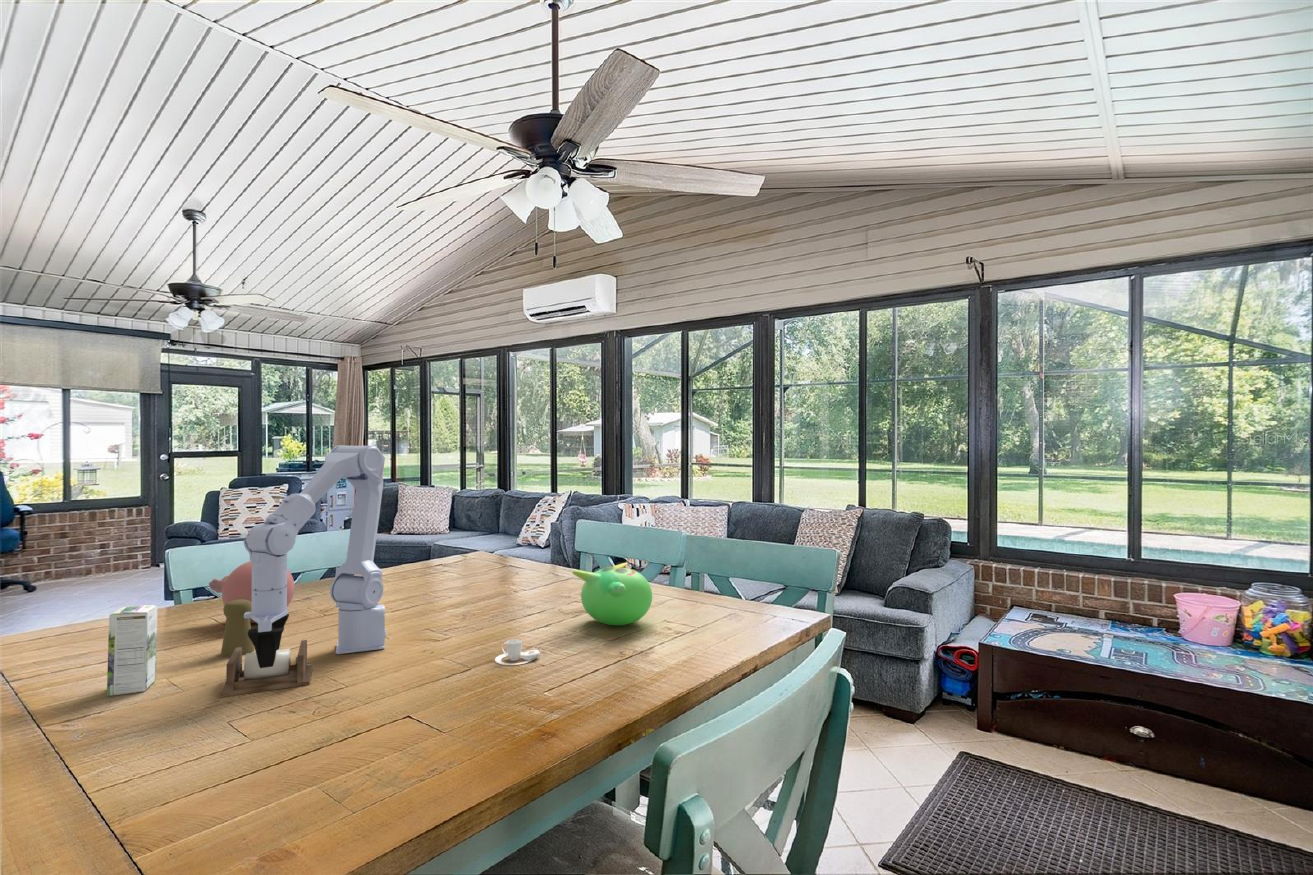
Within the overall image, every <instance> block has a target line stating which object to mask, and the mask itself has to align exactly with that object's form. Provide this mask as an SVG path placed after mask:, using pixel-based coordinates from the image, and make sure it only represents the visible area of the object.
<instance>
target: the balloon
mask: <svg viewBox="0 0 1313 875" xmlns="http://www.w3.org/2000/svg"><path fill="white" fill-rule="evenodd" d="M208 588H210V590H212V591H214V592H215V593H221V600H222V604H223V607H224V606H225V604H226V603H228V602H230V601H233V600H241V599H243V600H249V601H250V602H251V603H252V563H251V561H250V560H249V561H247V562H245V563H242V564H241V565H239V566H237V567H236V568H234V570H232V572H231V573H230V574H228V575H226V576H224V577H223V578H221V579H219V578H213V579H212V580H211V581H209V582H208ZM295 588H296V587H295V581H294V577H293V575H292V573H291V572H290V570H289V569H288V568H287V608H288V607H289V606H290V604H291V602H292V600H293V597H294V594H295ZM251 612H252V611H251ZM250 624H256V623H255V621H254V620H252V619H251V618H250Z"/></svg>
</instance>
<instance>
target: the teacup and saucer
mask: <svg viewBox="0 0 1313 875" xmlns="http://www.w3.org/2000/svg"><path fill="white" fill-rule="evenodd" d="M503 645H506V651H505V650H504V646H503ZM500 648H501V651H502V654H500V655H497V656H496V657H495V659H494V662H495V663H496V664H498V665H501V666H502V665H503V666H520V665H525V664H527V663H530V662H533V660H536V659H537V658H539V657H540V654H541V652H540V651H539V650H537V649H531V650H528V651H525V652H524V651H522V650H523V640H522V639H519V638H512V639H509V640H507V641H506V642H503V643H502V644H501V646H500ZM505 657H507V659H508V660H509V661H510V662H515V661H519V660H520V659H521V658H522V660H523V661H522V662H521V661H520V662H518V663H517V662H516V663H509V662H504V661H502V659H503V658H505Z"/></svg>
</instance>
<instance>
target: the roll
mask: <svg viewBox="0 0 1313 875" xmlns="http://www.w3.org/2000/svg"><path fill="white" fill-rule="evenodd" d="M291 654H292V653H291V648H284V649H282V648H281V649H279V650H277V651H276V657H275V661H274V664H273V667H266V668H260V667H259V664H258V660H257V655H256V651H255V652H251V653H247V654H246V655H244V656H245V657H244V664H243V670H244V680H245V681H248V680H256V679H264V678H271V677H279V676H287V675H289V674H290V665H291V664H292V662H291V660H292V658H291Z"/></svg>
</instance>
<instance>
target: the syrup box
mask: <svg viewBox="0 0 1313 875" xmlns="http://www.w3.org/2000/svg"><path fill="white" fill-rule="evenodd" d="M158 608H159V607H158V605H155V604H154V605H152V604H151V605H150V604H143V605H129V606H124V607H123V606H122V607H120V608H119V609H117V610H116V611H113V612H112V613H111V614H110V615H109V616H108V642H107V643H108V645H107V646H108V647H107V676H106V677H107V678H106V679H107V684H106V696H108V697H110V696H119V695H126V694H127V695H128V694H134V693H142V692H146V691H148V689H150V687H151V686H152V685H153V684H154V683H155V681H156V679H157V678H156V677H157V672H156V671H157V646H158V645H157V640H158V638H157V637H158V636H157V635H158V633H157V632H158Z"/></svg>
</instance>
